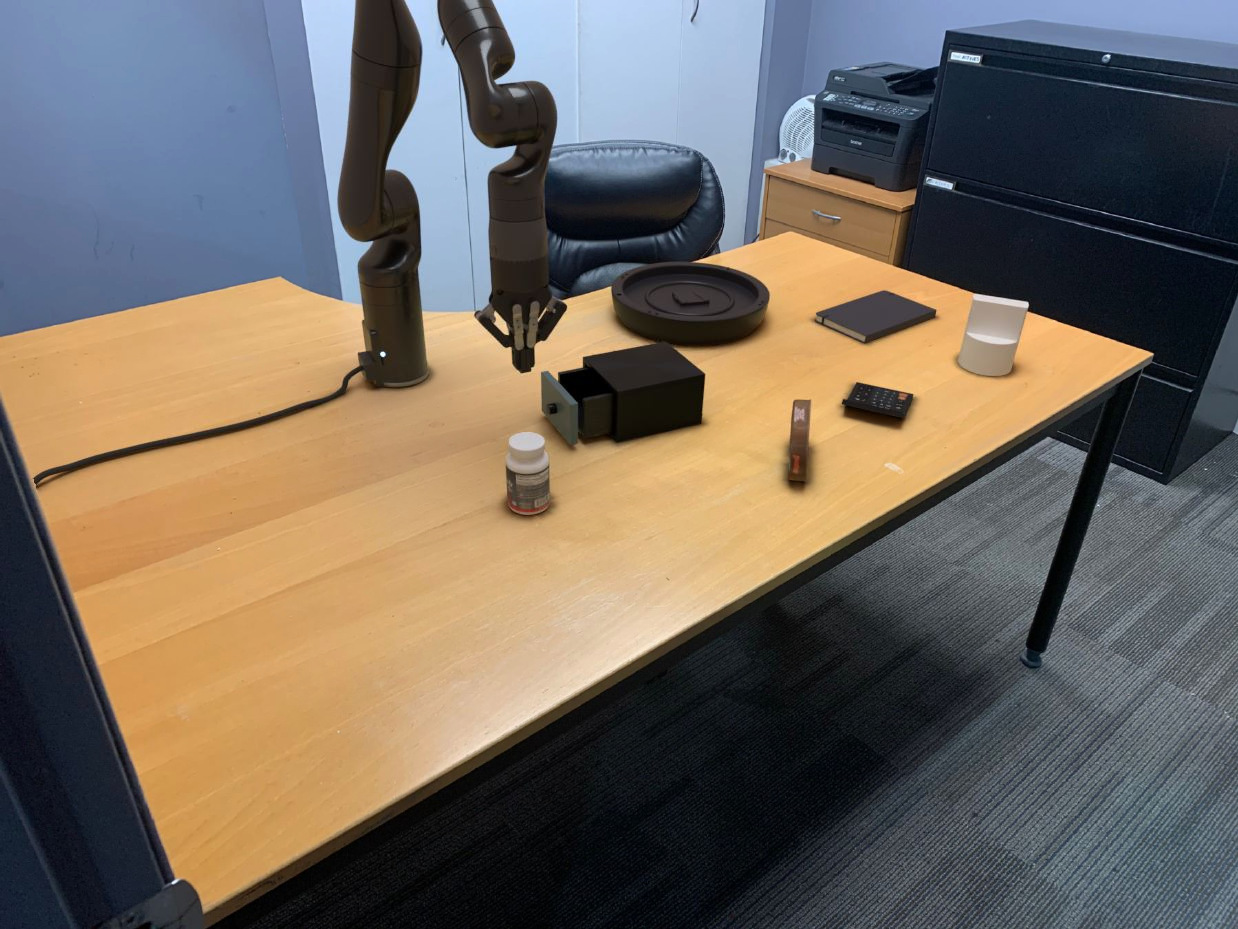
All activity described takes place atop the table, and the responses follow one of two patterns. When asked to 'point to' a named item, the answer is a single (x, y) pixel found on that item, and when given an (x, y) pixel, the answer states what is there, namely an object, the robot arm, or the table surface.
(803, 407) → the tin
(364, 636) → the table surface
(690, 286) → the round tray
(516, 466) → the pill bottle
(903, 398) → the calculator
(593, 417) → the drawer
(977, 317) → the cylinder with rectangular tab
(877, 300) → the notebook
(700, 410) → the cabinet
